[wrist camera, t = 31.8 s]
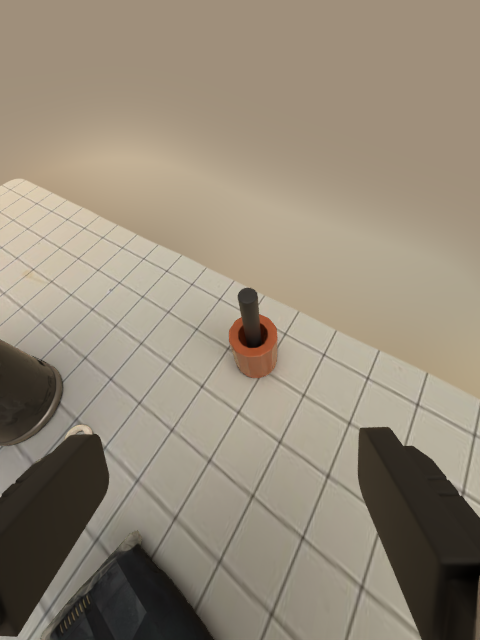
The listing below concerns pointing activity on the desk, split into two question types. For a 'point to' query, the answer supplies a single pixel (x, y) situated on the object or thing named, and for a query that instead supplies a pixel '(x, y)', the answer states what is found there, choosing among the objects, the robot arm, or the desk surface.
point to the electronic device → (127, 603)
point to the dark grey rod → (250, 317)
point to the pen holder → (254, 349)
